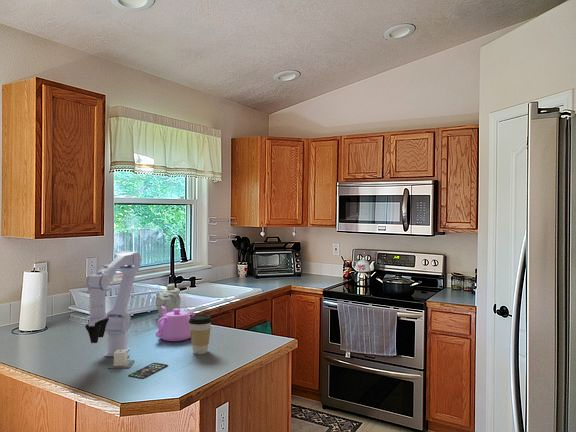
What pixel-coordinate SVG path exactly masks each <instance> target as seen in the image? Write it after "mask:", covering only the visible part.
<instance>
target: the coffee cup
mask: <svg viewBox="0 0 576 432" xmlns="http://www.w3.org/2000/svg"><path fill="white" fill-rule="evenodd" d="M212 322H213V319H212V317H211V316H210V315H209V314H195V315H194V316H192V315H191V316H190V320H189V323H190V334H191V338H190V341H191V346H192V347H191V348H192V354H194V355H206V354H207V353H208V352H209V344H210V336H211V329H212V327H211V325H212Z"/></svg>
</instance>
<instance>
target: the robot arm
mask: <svg viewBox="0 0 576 432" xmlns="http://www.w3.org/2000/svg"><path fill="white" fill-rule="evenodd" d="M141 263H142V256H141V253H140V252H139V251H121V250H119V251H117V252H116V253H114V259H113V260H112V261H111V263H109V264H104V265H103V267H101V268H100V269H99V270H97V272H95V274H90V275H89V276H88V277H87V278H86V283H85V285H86V288H87V293H88V294H89V315H88V316H86V318H85V319H86V320H88V323H87V324H86V325H85V327H84V328H85V329H86V331H87V333H88V336H89V339H90V343H91V344H97V343H98V341H99V338H104V336H105V334H106V336H107V338H106V339H107V340H106V344H107V345H106V346H107V348H106V349H107V351H106V352H105V354H104V355H103V356H104V357H114V352H115V351H116V350H122V349H127V352H129V350H130V347H128V334H127V332H128V331H129V329H130V327H131V317H132V316H131V314H130V313H129V312H128V311H127V308H128V304H129V302H130V301H129V300H130V298H131V294H132V293H131V292H132V288H133V285H134V281H135V277H136V274H137V273H138V272H139V271H140V267H141ZM117 270H118V271H119V272H120V273H121V274H122V278H121V281H120V284H119V287H118V292H117V295H116V299H115V302H114V306H113V308H112V309H110V310H109V311H107V312H106V290H107V288H108V287H109V284H110V281H111V280H112V278H114V277H115V276H116V273H117Z"/></svg>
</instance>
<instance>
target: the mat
mask: <svg viewBox="0 0 576 432" xmlns="http://www.w3.org/2000/svg"><path fill="white" fill-rule="evenodd" d="M134 363H135V359H131V360H130V359H127V363H126V364H125V365H123V366H114V360H113V361H112V363H110V365H109V366H108V367H107V369H108V370H116V369H117V370H119V369H123V370H124V369H130V368H131V367H132V366H133V364H134Z"/></svg>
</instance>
